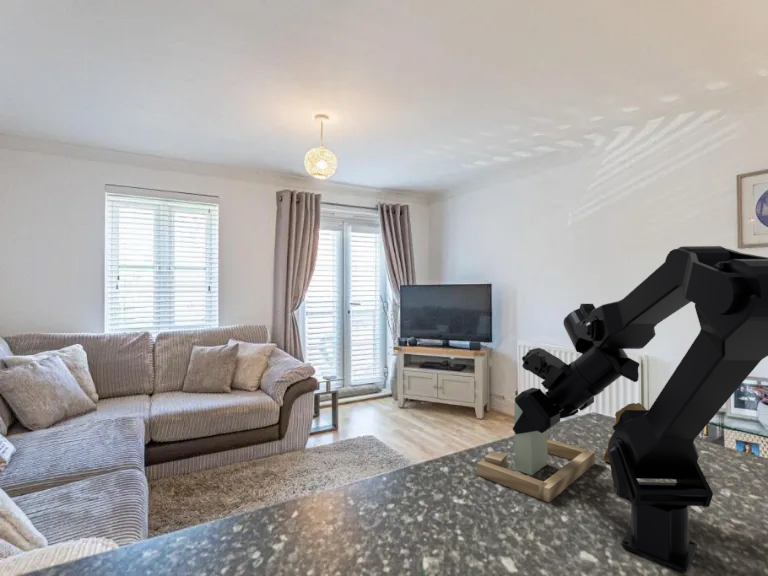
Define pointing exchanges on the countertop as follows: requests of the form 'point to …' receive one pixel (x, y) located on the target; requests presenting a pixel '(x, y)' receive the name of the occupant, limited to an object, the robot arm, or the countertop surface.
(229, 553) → the countertop surface
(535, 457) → the pale green rectangular pillar
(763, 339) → the robot arm
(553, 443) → the wooden u-shaped frame
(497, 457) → the offcut stack
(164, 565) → the countertop surface
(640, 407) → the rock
